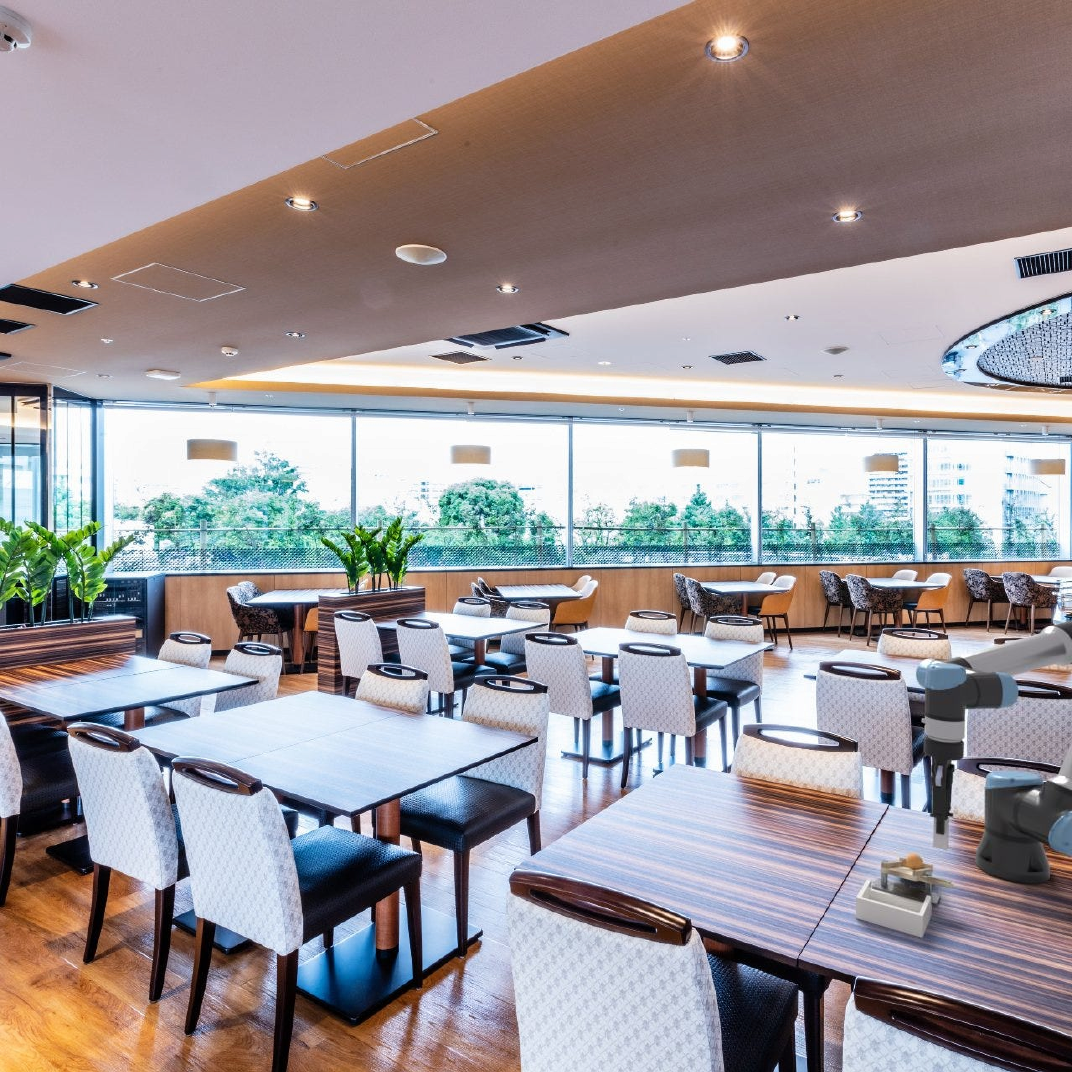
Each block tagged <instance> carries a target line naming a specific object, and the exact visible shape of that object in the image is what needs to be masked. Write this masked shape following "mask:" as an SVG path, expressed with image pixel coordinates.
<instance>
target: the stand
mask: <svg viewBox="0 0 1072 1072" xmlns="http://www.w3.org/2000/svg"><path fill="white" fill-rule="evenodd" d="M882 862H889V861H888V860H886V859H885V860H884V859H883V860H882V861H881V863H882ZM880 874H881V875H880V877H876V879H875V880H874V882H873V883H872V885H871V889H875V890H878V891H882V892H886V893H889V894H893V895H897V896H900V897H904V898H908V899H911V900H915V901H919V902H922V903H924V901H925V899H926V897H927V895H928V896H931V905H932V907H938V903H939V902H940V900H941V894H940V893H936V892H933V891H932V890H933V889H932V886H933V884H930V883H926V882H924V885H925V886H924V888H925V889H922V888H917V887H914V886H911V885H906V884H902V883H899V882H894V881H890V880H888V877H889V876H888V875H889V874H885V873H882V872H881V871H880ZM925 876H932V877H933V872H929V871H927V872H926V874H925Z"/></svg>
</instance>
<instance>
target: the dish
mask: <svg viewBox="0 0 1072 1072" xmlns="http://www.w3.org/2000/svg"><path fill="white" fill-rule="evenodd" d="M932 908H933V905H931V896H928V895H927V897H926V899H925V901H924V903H922V902H919V901H915V900H911V899H908V898H904V897H900V896H897V895H893V894H889V893H886V892H882V891H878V890H875V889H872V880H871V879H868V878H867V879H866V881H865V883H864V884H863V886H862V888H861V889H860V891H859V892H858V893H857V895H856V897H855V919H858V920H861V921H865V922H868V923H870V924H874V925H878V926H881V927H885V928H888V929H891V930H893V931H894V930H895V931H897V932H901V933H905V934H908V935H910V936H915V937H918V938H921V939H922V938H923V937H924V934H925V933H926V930H927V928H928V925H929V923H930V921H931V918H932V915H933V914H932V913H933V912H932V910H933V909H932Z"/></svg>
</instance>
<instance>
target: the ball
mask: <svg viewBox="0 0 1072 1072" xmlns="http://www.w3.org/2000/svg"><path fill="white" fill-rule="evenodd" d="M905 859H906V863H907V865H908V866H909V867H910V868H911V869H914V870H918V869H920V868H921V867H922V865H923V863H924V861H923V858H922V857H921V856H920V855H918V854H917V853H910V854H908V855H907V856H906V858H905Z"/></svg>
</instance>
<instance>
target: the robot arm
mask: <svg viewBox="0 0 1072 1072" xmlns="http://www.w3.org/2000/svg"><path fill="white" fill-rule="evenodd" d="M1052 665H1057V666H1059V667H1065V666H1070V665H1072V620H1068V621H1064V622H1061V623H1056V624H1053V625H1050V626H1046V627H1044V628H1042V630H1041V631H1040V633H1037V634H1034V635H1031V636H1027V637H1024V638H1020V639H1016V640H1013V641H1010V642H1005V643H1002V644H998V645H994V646H990V647H988V648H984V649H981V650H980V649H979V650H977V651H974V652H969V653H967V654H963V655H959V656H955V657H952V658H948V659H942V660H941V659H940V658H926V659H924V660H921V662H919V664H918V666H917V668H916V670H915V677H916V680H917V683H918V685H920V686H921V687H922V688H923V689H924V718H921V723H923V724H925V725H924V734H925V735H924V736H923V752H924V754H925V755H926V756H928V757H931V758H933V759H934V761H933V764H931V766H930V768H931V771H930V773H931V774H932V775H931V777H930V780H931V798H932V801H931V802H932V806H931V807H932V812H930V814H929V817H930V818H933V830H932V831H933V834H932V836H933V837H932V838H933V839H932V847H933V848H936V849H941V850H946V851H948V850H949V839H950V835H949V834H950V818H953V817H954V813H953V812H950V811H951V809H952V807H951V806H952V805H951V804H952V790H953V783H954V773H955V770H956V765H955V764H954V763H952V761H960V760H962V759H963V758H964V757H965V756H964V755H965V742H964V741H963V739H965V737H966V736H965V735H966V734H965V731H966V710H982V709H983V710H984V709H987V710H988V709H990V710H991V709H996V710H999V709H1002V708H1009V707H1012V706H1014V705H1015V704H1016V702H1017V701H1018V699H1019V686H1018V684H1017V681H1016V680H1015V679H1014V678H1013V677H1014V676H1017V675H1021V674H1024V673H1028V672H1031V671H1035V670H1038V669H1042V668H1045V667H1049V666H1052ZM983 789H984V830H983V834H982V837H981V839H980V841H979V844H978V846H977V848H976V850H975V859H974V860H975V861H974V862H975V864H976V866H977V867H978V868H979V869H981V870H982V871H984V872H985V873H987V874H989V875H991V876H993V877H996V878H999V879H1002V880H1005V881H1010V882H1014V883H1020V884H1029V885H1030V884H1031V885H1032V884H1033V885H1034V884H1042V883H1043V884H1044V883H1046V882H1048V881H1049V880H1050V879H1051V867H1050V862H1049V860H1048V857H1047V855H1046V851H1045V849H1044V845H1045V846H1047V847H1049V848H1051V849H1052V850H1054V851H1055V852H1058V853H1060V854H1063V855H1066V856H1069V857H1071V858H1072V742H1071V743H1070V746H1069V747H1068V750H1067V752H1066V755H1065V758H1064V759H1063V763H1062V765H1061V767H1060V770H1059V772H1058V774H1057V775H1056V776H1053V777H1050V778H1047V779H1046V781H1045V782H1044V780H1043V777H1042V776H1041V775H1040V774H1036V773H1032V772H1028V771H1021V770H1006V769H1005V770H994V771H991V772H989V773H988V774H987V775H986V776H985V785H984V788H983ZM1043 844H1044V845H1043Z"/></svg>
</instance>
